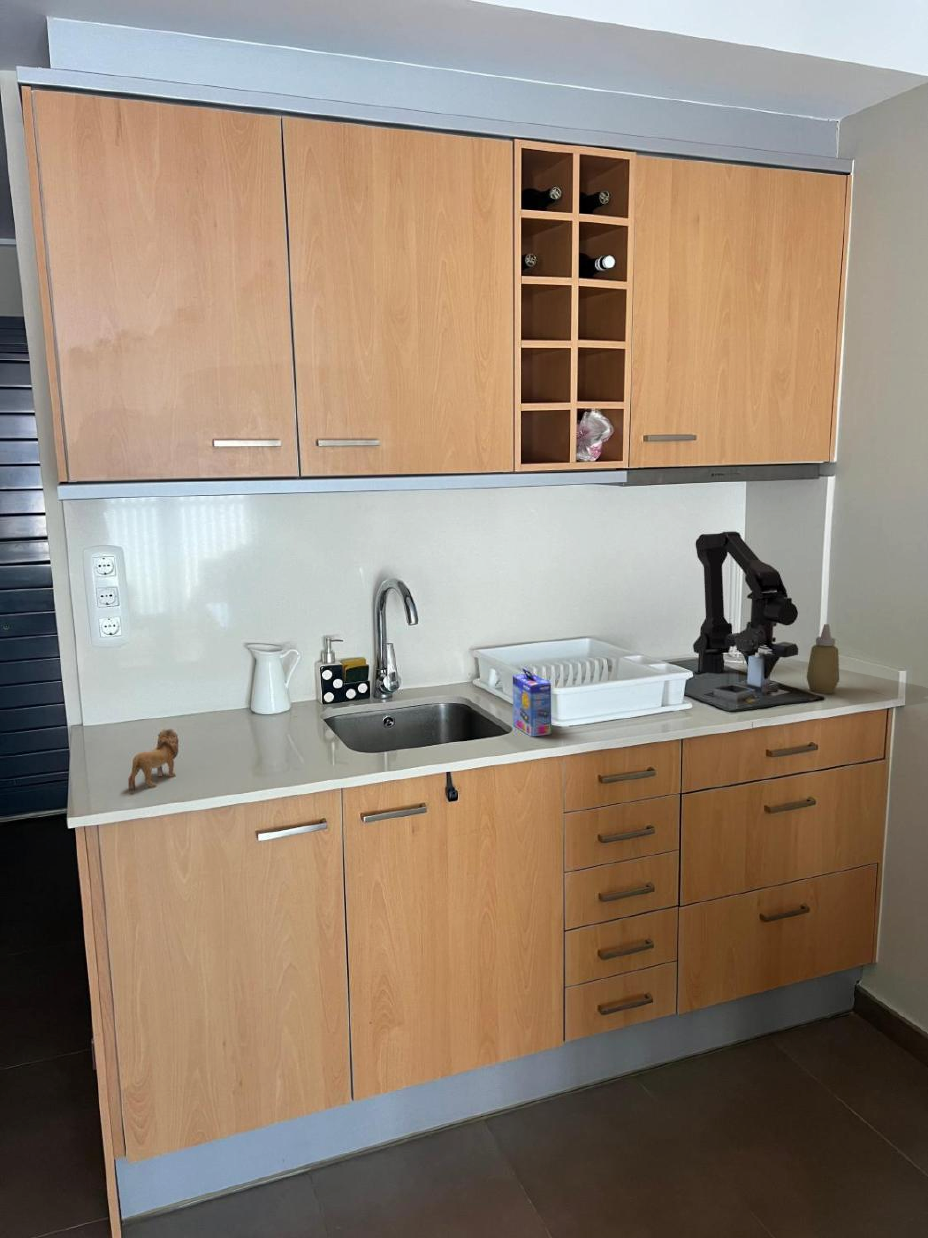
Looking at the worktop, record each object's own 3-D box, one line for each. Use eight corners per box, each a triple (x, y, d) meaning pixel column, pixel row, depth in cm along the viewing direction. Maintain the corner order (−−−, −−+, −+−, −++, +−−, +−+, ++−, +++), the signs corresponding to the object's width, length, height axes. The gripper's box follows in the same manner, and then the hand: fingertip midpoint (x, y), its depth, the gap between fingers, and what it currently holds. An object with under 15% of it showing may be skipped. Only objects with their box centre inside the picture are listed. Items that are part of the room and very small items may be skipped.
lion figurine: (163, 767, 193) (160, 725, 191) (187, 769, 191) (184, 727, 190) (121, 793, 179) (117, 748, 177) (146, 796, 177) (142, 750, 176)
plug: (747, 686, 246) (748, 652, 244) (756, 683, 248) (758, 650, 246) (760, 689, 243) (762, 655, 241) (769, 686, 245) (771, 653, 243)
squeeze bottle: (798, 689, 249) (803, 623, 246) (821, 686, 253) (826, 620, 249) (821, 697, 242) (826, 628, 239) (845, 693, 246) (850, 626, 242)
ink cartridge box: (511, 725, 220) (511, 665, 217) (532, 722, 222) (532, 662, 219) (530, 737, 211) (531, 675, 208) (552, 734, 213) (553, 672, 210)
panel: (702, 698, 241) (702, 687, 241) (750, 686, 253) (750, 675, 253) (741, 709, 232) (741, 697, 231) (789, 695, 244) (790, 684, 243)
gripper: (712, 616, 244) (709, 674, 247) (774, 627, 230) (770, 689, 233) (739, 611, 251) (736, 668, 254) (801, 622, 236) (797, 682, 239)
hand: (758, 677), depth 245 cm, fingers closed on plug, 4 cm apart
